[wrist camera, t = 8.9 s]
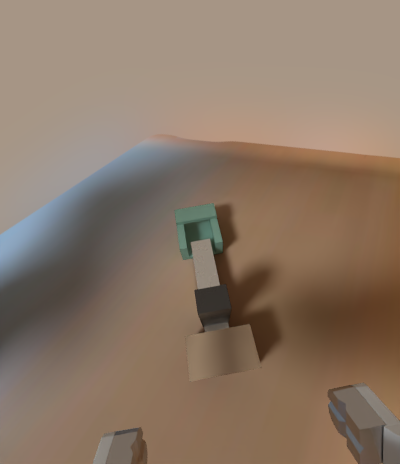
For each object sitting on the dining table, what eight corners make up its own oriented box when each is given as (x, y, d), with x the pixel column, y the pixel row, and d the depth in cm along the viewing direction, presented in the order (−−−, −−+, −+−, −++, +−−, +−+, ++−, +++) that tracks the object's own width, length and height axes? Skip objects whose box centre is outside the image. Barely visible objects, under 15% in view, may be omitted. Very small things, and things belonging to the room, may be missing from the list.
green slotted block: (183, 259, 33) (179, 247, 29) (178, 222, 36) (174, 207, 33) (222, 252, 33) (222, 239, 29) (213, 216, 36) (212, 200, 33)
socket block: (194, 379, 24) (189, 381, 21) (189, 340, 27) (184, 336, 23) (255, 368, 25) (261, 367, 21) (245, 330, 27) (249, 323, 23)
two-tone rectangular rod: (209, 363, 24) (204, 361, 17) (191, 248, 32) (183, 213, 25) (235, 358, 24) (242, 353, 17) (211, 244, 33) (208, 208, 25)
